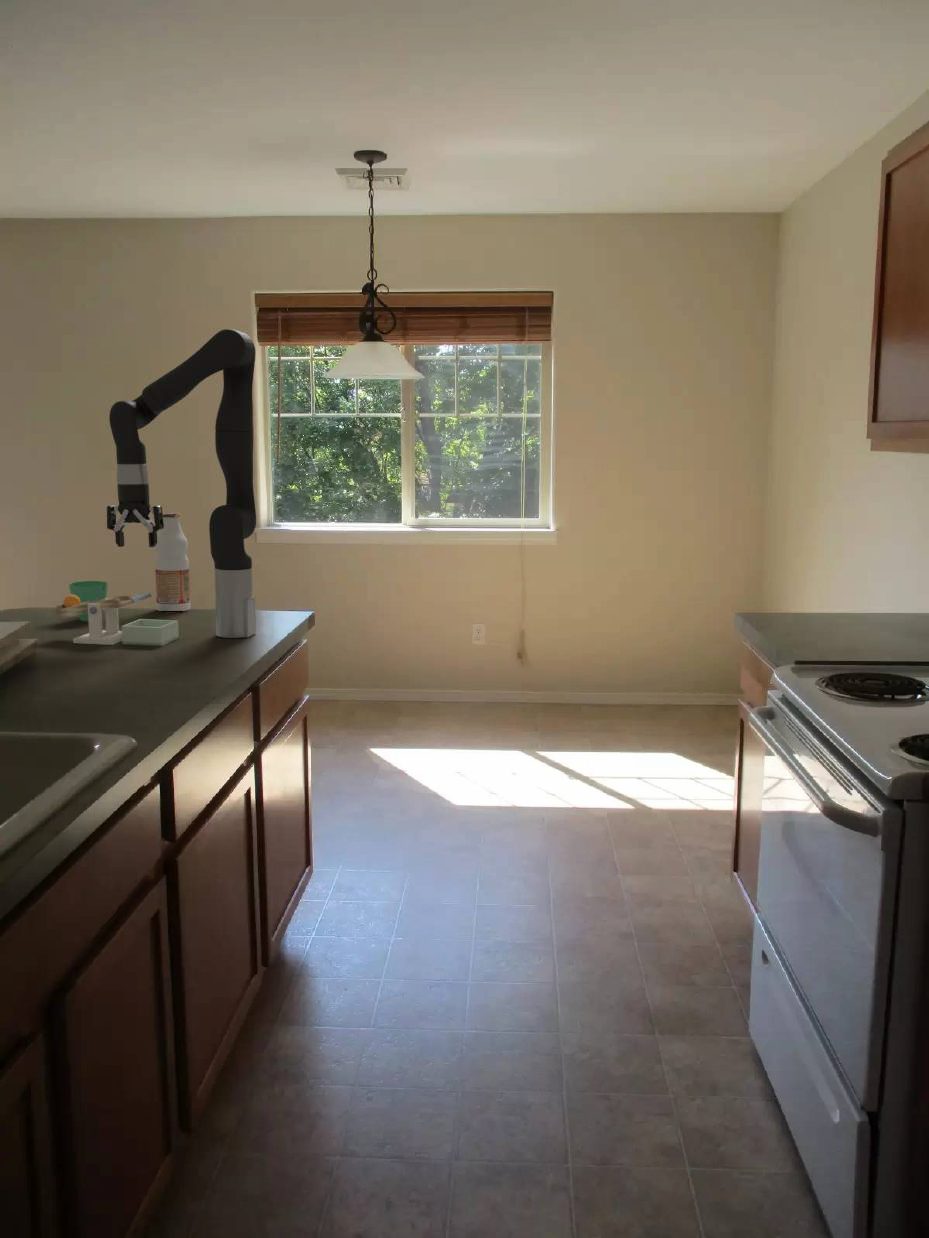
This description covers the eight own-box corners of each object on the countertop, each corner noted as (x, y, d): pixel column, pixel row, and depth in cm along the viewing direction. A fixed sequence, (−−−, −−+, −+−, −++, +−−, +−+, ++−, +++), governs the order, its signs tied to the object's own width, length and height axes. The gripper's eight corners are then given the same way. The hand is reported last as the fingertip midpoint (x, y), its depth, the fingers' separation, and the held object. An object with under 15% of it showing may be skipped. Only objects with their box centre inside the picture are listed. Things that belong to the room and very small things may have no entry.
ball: (85, 608, 250) (82, 592, 250) (77, 611, 246) (74, 595, 246) (70, 609, 251) (67, 594, 250) (61, 612, 247) (58, 596, 246)
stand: (134, 635, 254) (133, 598, 252) (112, 644, 242) (110, 605, 241) (97, 633, 255) (95, 596, 254) (73, 643, 244) (71, 604, 242)
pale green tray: (178, 638, 252) (178, 620, 251) (161, 646, 242) (161, 627, 241) (140, 636, 253) (139, 618, 252) (122, 644, 243) (121, 626, 242)
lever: (151, 596, 260) (148, 585, 259) (121, 607, 243) (118, 594, 243) (91, 607, 262) (88, 596, 262) (57, 618, 246) (54, 606, 245)
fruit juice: (164, 613, 285) (161, 514, 280) (151, 609, 293) (148, 512, 288) (195, 610, 291) (193, 513, 286) (182, 606, 298) (179, 511, 294)
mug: (107, 622, 271) (106, 585, 269) (68, 623, 268) (66, 586, 266) (112, 613, 285) (110, 578, 283) (75, 614, 282) (73, 578, 280)
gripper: (166, 482, 255) (169, 545, 258) (114, 481, 258) (118, 545, 260) (152, 483, 248) (156, 548, 251) (98, 482, 250) (103, 547, 253)
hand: (136, 546), depth 256 cm, fingers open, 8 cm apart
